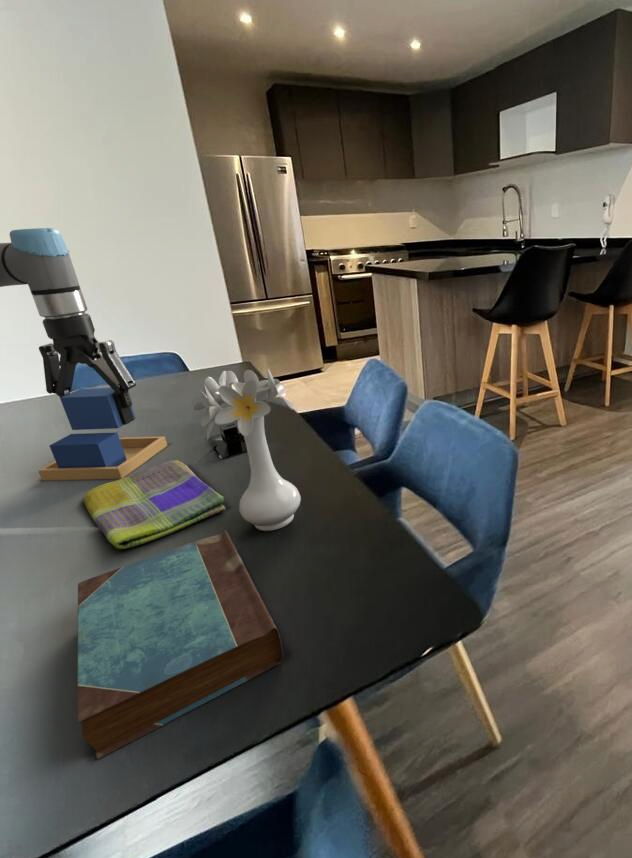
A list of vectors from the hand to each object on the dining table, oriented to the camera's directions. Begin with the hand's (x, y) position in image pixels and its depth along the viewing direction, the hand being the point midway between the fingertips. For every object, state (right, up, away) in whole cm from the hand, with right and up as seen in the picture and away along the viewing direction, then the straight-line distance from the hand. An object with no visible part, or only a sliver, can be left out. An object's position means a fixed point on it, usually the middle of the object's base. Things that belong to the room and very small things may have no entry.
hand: (104, 423), depth 102 cm
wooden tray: (0, -9, +1) cm, 9 cm away
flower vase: (+43, -16, -23) cm, 51 cm away
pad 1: (0, 0, 0) cm, 0 cm away
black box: (+24, -5, +7) cm, 25 cm away
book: (+40, -25, -45) cm, 65 cm away
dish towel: (+20, -15, -16) cm, 30 cm away
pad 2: (0, -10, -2) cm, 10 cm away
